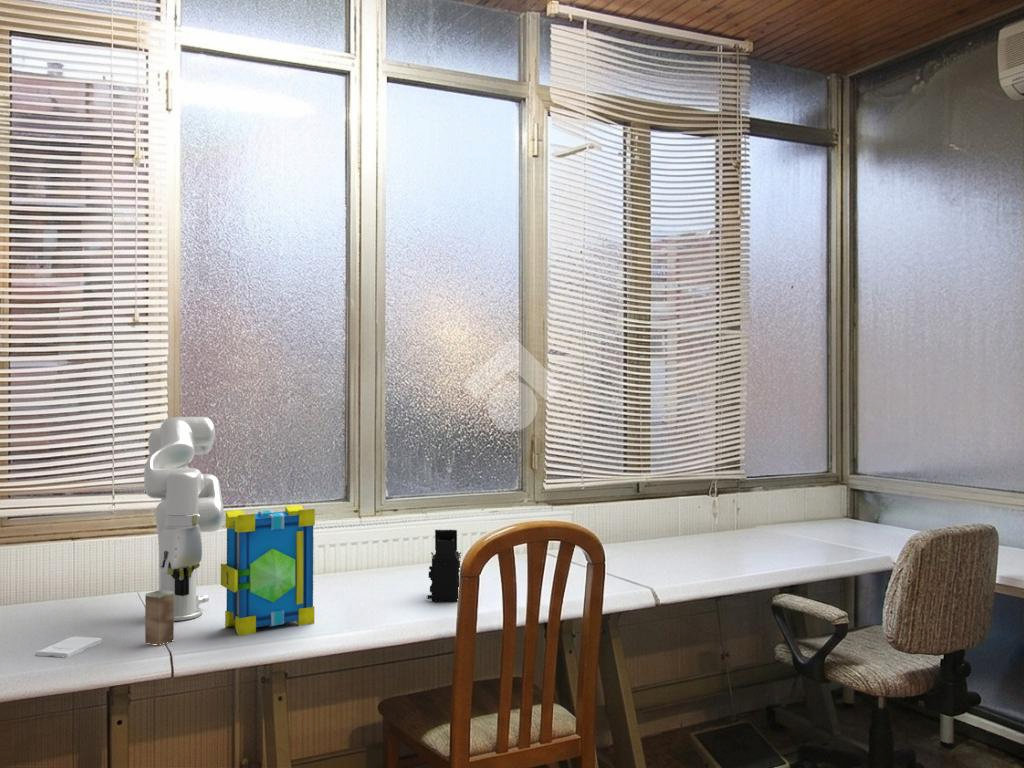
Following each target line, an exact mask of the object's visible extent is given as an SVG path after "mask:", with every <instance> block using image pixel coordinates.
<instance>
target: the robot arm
mask: <svg viewBox="0 0 1024 768" xmlns="http://www.w3.org/2000/svg"><path fill="white" fill-rule="evenodd" d="M215 439H216V428H215V425H214V423H213V421H212V419H210V418H209V417H207V416H174V417H170V418H167V419H165V420H164V421H163V422H162V423H161V425H160V427H158V428H155V429H154V430H152V431H151V432H150V434H149V437H148V440H147V441H148V444H147V445H148V454H149V457H148V458H147V460H146V462H145V465H144V470H143V478H144V479H143V484H144V485H143V486H144V491H145V494H146V495H147V496H148V497H149V498H151V499H160V503H158V504H157V506H156V508H155V513H154V517H155V519H154V520H155V524H156V532H157V539H158V544H157V546H158V590H164V591H171V592H174V622H181V621H187V620H191V619H192V620H193V619H195V618H198V617H200V616H202V614H203V609H202V608H201V607H200V605H201V604H204V603H208V602H209V600H210V597H209V596H208V594H205V595H201V596H199V595H197V569H199V568H200V565H201V564H200V563H201V561H202V558H203V557H202V556H203V543H202V533H213V532H214V533H215V532H217V531H219V530H220V529H221V528H222V527H223V524H224V522H225V509H224V504H223V502H224V501H223V496H222V488H221V485H220V481H219V479H218V477H217V476H215V475H214V474H211V473H202V472H201V470H200V469H198V468H196V467H195V468H194V467H189V464H190V463H191V462H192V461H193V460H194V457H195V455H207V454H209V452H210V451H212V448H213V445H214V442H215Z"/></svg>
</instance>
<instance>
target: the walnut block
mask: <svg viewBox="0 0 1024 768" xmlns="http://www.w3.org/2000/svg"><path fill="white" fill-rule="evenodd" d="M144 597H145V607H144V608H145V609H144V611H145V614H144V615H145V617H144V619H145V626H144V627H145V628H144V629H145V630H144V631H145V633H144V635H145V637H144V641H145V642H144V643H150V644H157V645H160V644H163V643H167V642H170V641H172V640H174V635H175V634H174V633H175V632H174V631H175V629H174V627H175V626H174V625H175V624H174V622H175V621H174V592H171V591H164V590H159V589H158V590H155V591H154V590H153V591H151V592H148V593H147V592H146V593H145V595H144ZM170 643H171V642H170ZM150 644H149V645H150ZM167 644H168V643H167ZM163 645H164V644H163ZM160 646H161V645H160Z"/></svg>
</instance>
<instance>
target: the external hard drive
mask: <svg viewBox="0 0 1024 768" xmlns="http://www.w3.org/2000/svg"><path fill="white" fill-rule="evenodd" d="M99 642H101V643H102V638H101V637H92V636H91V637H89V636H88V637H87V636H74V635H73V636H70V637H68V638H65V639H63V640H61V641H58V642H56V643H54V644H52V645H49V646H47V647H44V648H42V649H39V650H37V651H35V656H36V655H37V657H38V656H39V657H54V656H60V657H59V658H66V657H67V658H70V657H71V655H72V656H74V655H76V654H79V653H81V652H83V651H85V650H87V649H86V648H88V649H90V648H92V647H93V646H92V645H94V644H96V645H98V644H97V643H99ZM99 644H100V643H99ZM91 646H92V647H91ZM94 646H95V645H94ZM89 647H90V648H89ZM84 649H85V650H84ZM82 650H83V651H82ZM80 651H81V652H80ZM78 652H79V653H78ZM75 653H76V654H75ZM73 654H74V655H73ZM62 656H64V657H62ZM69 656H70V657H69Z"/></svg>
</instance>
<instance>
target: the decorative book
mask: <svg viewBox="0 0 1024 768" xmlns="http://www.w3.org/2000/svg"><path fill="white" fill-rule="evenodd" d="M284 508H285V509H284V510H285V511H274V510H273V509H270V510H267V509H266V510H259V511H258V512H257V513H251V514H248V513H247V514H245V512H244V511H243V510H244V509H233V510H225V529H226V563H221V562H220V586H222V587H224V588H226V610H225V611H224V613H225V614H224V616H225V617H224V619H225V620H224V622H225V623H224V625H225V626H224V627H226V628H232V627H234V629H235V630H236V633H237V635H238V636H245V635H246V634H247V635H253V634H256V633H257V628H258V627H267V626H269V627H275V626H282V625H284V624H285V623H291V622H296V623H297V625H298V626H299V625H301V626H305V625H304V624H307V625H310V624H309V623H313V624H315V606H314V543H315V542H314V539H315V538H314V526H315V525H316V520H315V519H316V517H315V516H316V514H315V513H316V512H315V511H316V510H315V508H308V509H304V508H303V506H302V505H301V504H295V505H286V506H284Z"/></svg>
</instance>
